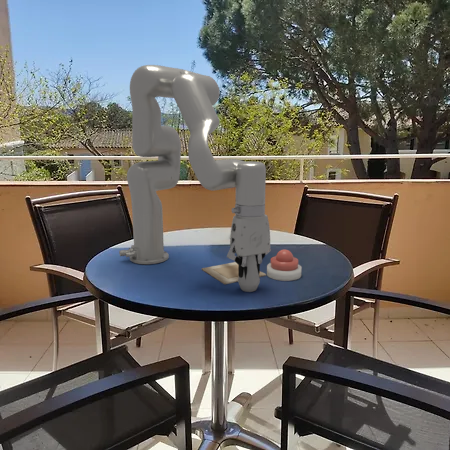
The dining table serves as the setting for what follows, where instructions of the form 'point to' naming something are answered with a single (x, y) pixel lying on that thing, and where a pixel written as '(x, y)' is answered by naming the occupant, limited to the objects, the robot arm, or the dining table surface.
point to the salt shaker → (250, 276)
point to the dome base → (283, 273)
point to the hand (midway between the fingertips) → (249, 277)
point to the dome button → (284, 261)
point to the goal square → (226, 272)
